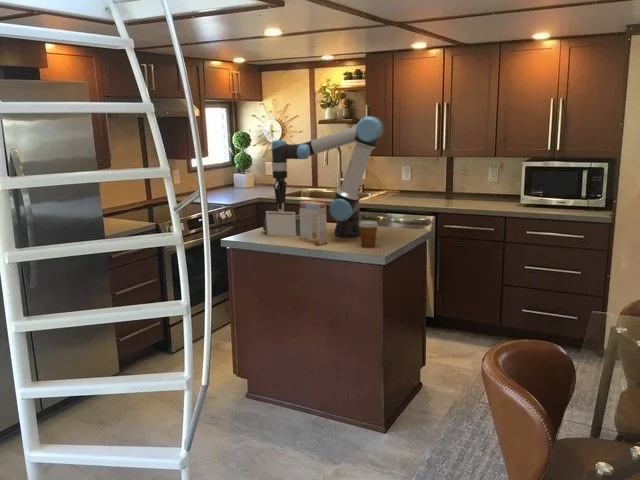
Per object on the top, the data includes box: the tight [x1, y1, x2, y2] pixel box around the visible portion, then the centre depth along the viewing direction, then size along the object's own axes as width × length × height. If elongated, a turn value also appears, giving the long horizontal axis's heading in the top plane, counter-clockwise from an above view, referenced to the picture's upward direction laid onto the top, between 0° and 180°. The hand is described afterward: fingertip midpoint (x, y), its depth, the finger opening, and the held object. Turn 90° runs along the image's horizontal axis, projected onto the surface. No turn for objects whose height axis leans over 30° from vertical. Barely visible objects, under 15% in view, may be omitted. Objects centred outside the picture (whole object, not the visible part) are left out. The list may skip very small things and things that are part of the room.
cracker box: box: [299, 200, 328, 246], centre depth 295 cm, size 14×6×21 cm, turn 43°
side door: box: [265, 210, 298, 237], centre depth 309 cm, size 16×1×13 cm, turn 73°
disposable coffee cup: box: [359, 220, 379, 248], centre depth 286 cm, size 10×10×12 cm
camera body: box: [262, 214, 300, 237], centre depth 316 cm, size 22×10×11 cm, turn 73°
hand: (281, 215), depth 309 cm, fingers closed
